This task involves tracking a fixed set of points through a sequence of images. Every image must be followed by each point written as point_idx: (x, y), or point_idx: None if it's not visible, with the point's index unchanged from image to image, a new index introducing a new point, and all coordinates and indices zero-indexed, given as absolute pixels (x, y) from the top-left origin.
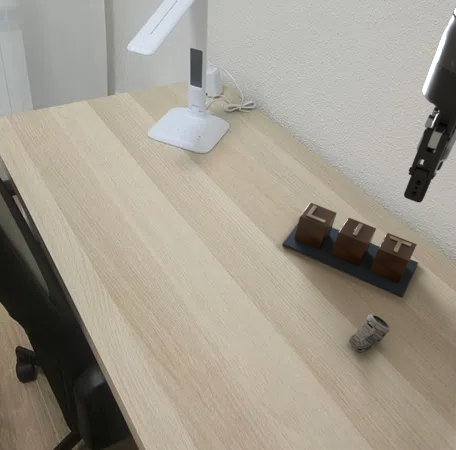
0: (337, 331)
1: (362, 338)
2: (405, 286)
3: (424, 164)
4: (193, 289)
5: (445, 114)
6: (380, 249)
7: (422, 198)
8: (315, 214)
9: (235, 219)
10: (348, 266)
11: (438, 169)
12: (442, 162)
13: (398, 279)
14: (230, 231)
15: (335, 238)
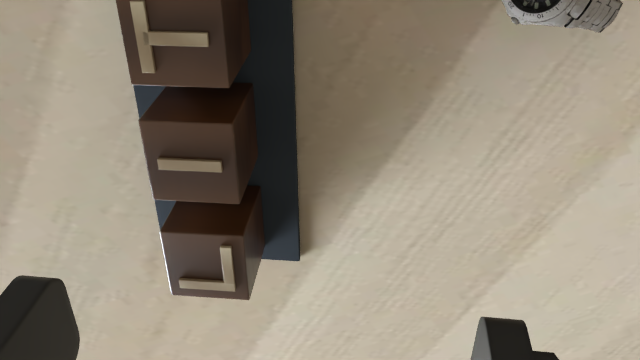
0: (527, 54)
1: (613, 5)
2: None
3: (72, 351)
4: (550, 350)
5: None
6: (228, 82)
7: (527, 343)
8: (211, 272)
9: (285, 356)
10: (271, 105)
11: (54, 285)
12: (21, 326)
13: None
14: (330, 352)
15: None
